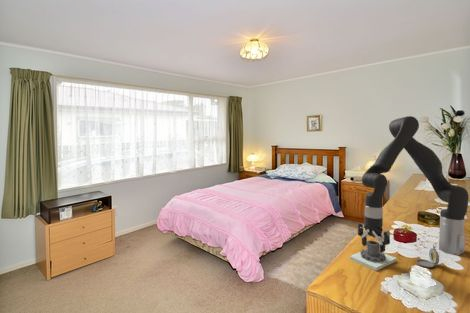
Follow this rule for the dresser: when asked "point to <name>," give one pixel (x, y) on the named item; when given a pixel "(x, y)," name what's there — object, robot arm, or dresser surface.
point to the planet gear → (373, 252)
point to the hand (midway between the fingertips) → (372, 248)
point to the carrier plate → (374, 264)
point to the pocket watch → (434, 260)
